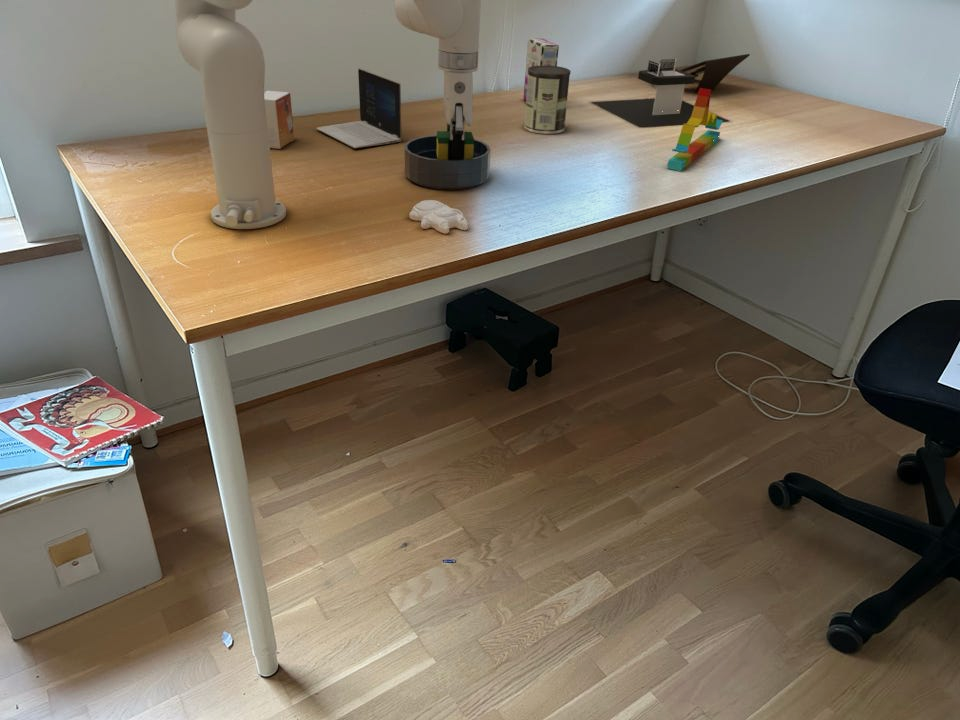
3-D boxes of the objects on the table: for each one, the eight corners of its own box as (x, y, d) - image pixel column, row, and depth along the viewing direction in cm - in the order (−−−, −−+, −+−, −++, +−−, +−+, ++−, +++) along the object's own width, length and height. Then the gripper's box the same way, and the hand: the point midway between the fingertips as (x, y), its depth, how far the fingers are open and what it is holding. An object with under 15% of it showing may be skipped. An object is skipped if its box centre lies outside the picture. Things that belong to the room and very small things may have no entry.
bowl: (494, 191, 144) (495, 161, 141) (406, 191, 142) (406, 160, 139) (483, 163, 159) (484, 135, 155) (403, 163, 156) (403, 134, 153)
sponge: (472, 160, 147) (474, 138, 144) (437, 160, 146) (438, 137, 143) (470, 153, 151) (471, 131, 148) (436, 153, 150) (436, 130, 147)
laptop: (315, 130, 174) (311, 73, 167) (361, 123, 180) (359, 67, 173) (354, 150, 162) (351, 89, 155) (402, 142, 169) (401, 83, 162)
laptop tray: (692, 97, 245) (686, 69, 243) (753, 77, 226) (748, 46, 224) (648, 106, 232) (642, 76, 230) (710, 85, 213) (704, 53, 211)
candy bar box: (553, 109, 200) (559, 45, 191) (536, 110, 199) (542, 45, 190) (538, 99, 209) (544, 37, 200) (522, 99, 208) (527, 37, 199)
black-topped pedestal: (674, 97, 218) (683, 49, 211) (729, 121, 198) (741, 69, 190) (591, 102, 209) (597, 52, 202) (640, 127, 188) (648, 72, 181)
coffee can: (553, 121, 189) (558, 64, 182) (571, 133, 181) (578, 73, 174) (516, 124, 186) (521, 65, 178) (534, 135, 178) (539, 74, 170)
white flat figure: (431, 237, 124) (431, 220, 122) (402, 212, 133) (402, 196, 131) (476, 229, 128) (477, 213, 126) (445, 206, 136) (446, 190, 135)
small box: (280, 149, 160) (275, 100, 155) (256, 147, 161) (250, 97, 155) (295, 139, 167) (290, 92, 161) (272, 137, 168) (267, 89, 162)
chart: (705, 137, 183) (719, 74, 175) (718, 139, 182) (732, 76, 174) (666, 168, 161) (679, 97, 153) (680, 171, 160) (694, 100, 152)
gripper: (483, 70, 132) (477, 170, 141) (472, 53, 146) (468, 144, 156) (441, 69, 131) (439, 169, 140) (435, 51, 145) (433, 143, 155)
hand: (454, 155), depth 148 cm, fingers closed on sponge, 4 cm apart
